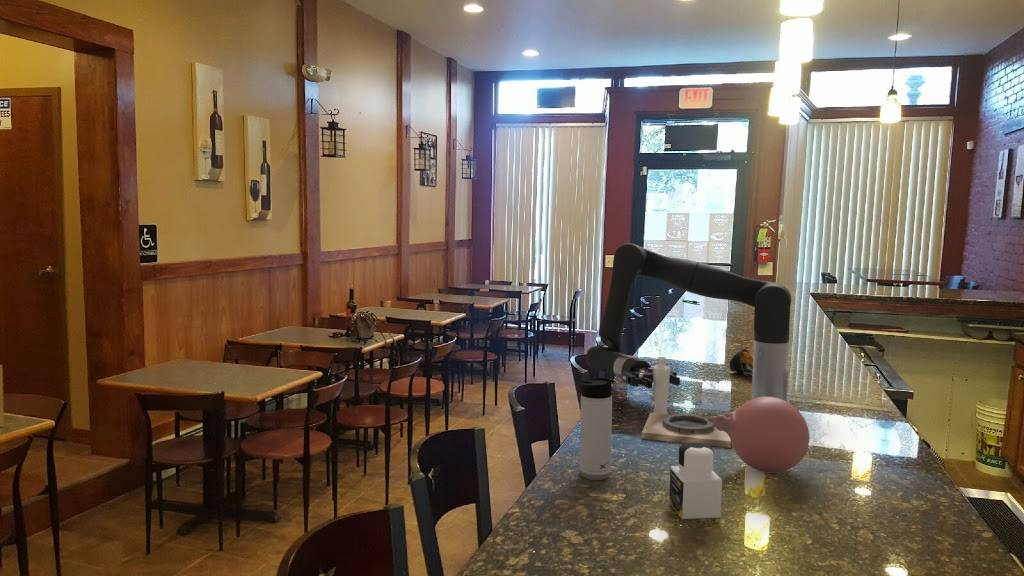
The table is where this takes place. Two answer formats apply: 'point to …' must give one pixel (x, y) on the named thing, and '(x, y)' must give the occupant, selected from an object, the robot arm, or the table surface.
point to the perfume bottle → (661, 386)
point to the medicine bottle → (695, 483)
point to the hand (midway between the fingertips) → (665, 383)
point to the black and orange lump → (742, 363)
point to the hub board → (684, 429)
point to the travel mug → (596, 428)
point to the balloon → (766, 433)
